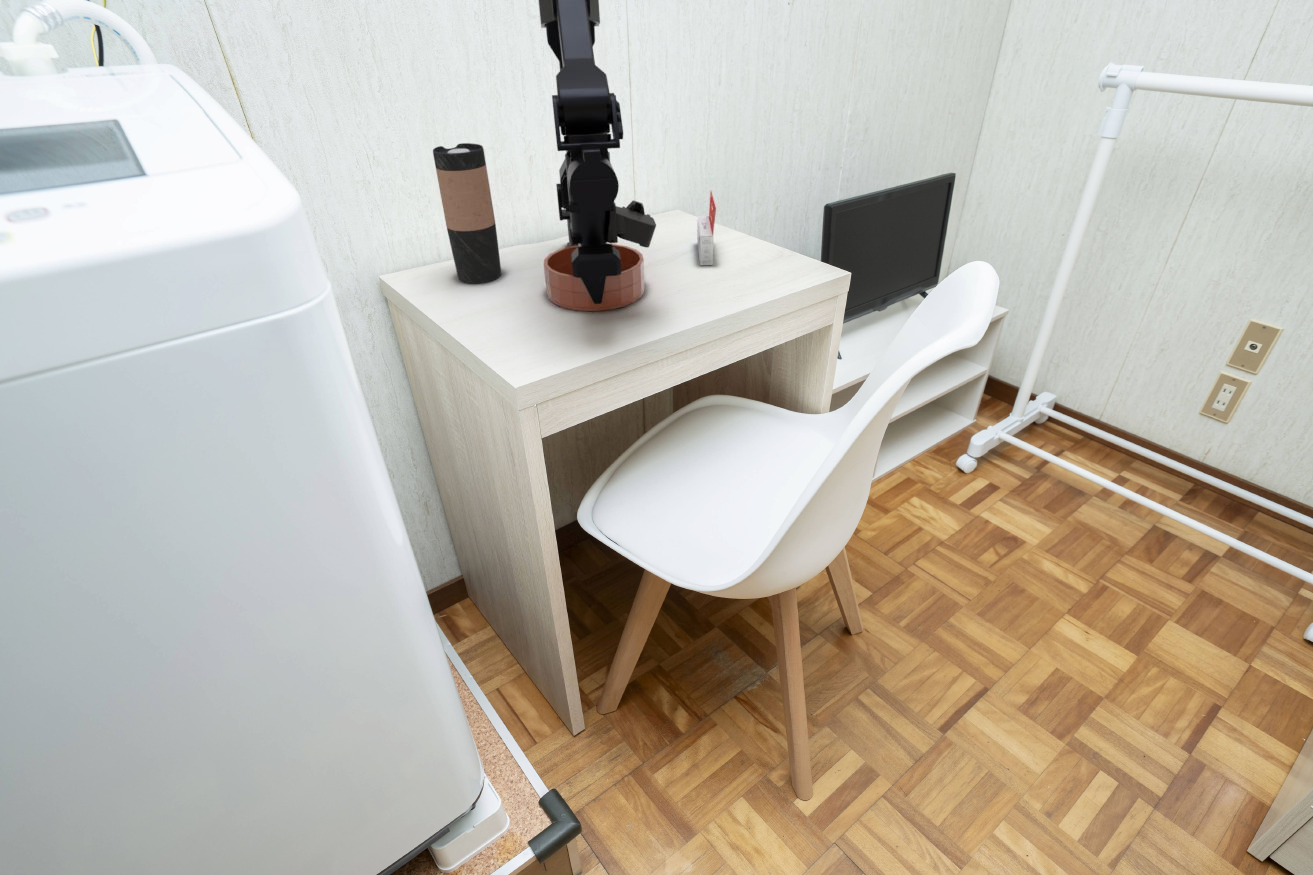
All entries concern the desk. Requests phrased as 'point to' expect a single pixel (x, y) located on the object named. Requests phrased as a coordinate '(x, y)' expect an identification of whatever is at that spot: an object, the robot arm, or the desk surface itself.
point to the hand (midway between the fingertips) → (597, 303)
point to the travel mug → (468, 211)
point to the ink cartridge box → (706, 235)
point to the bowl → (573, 290)
